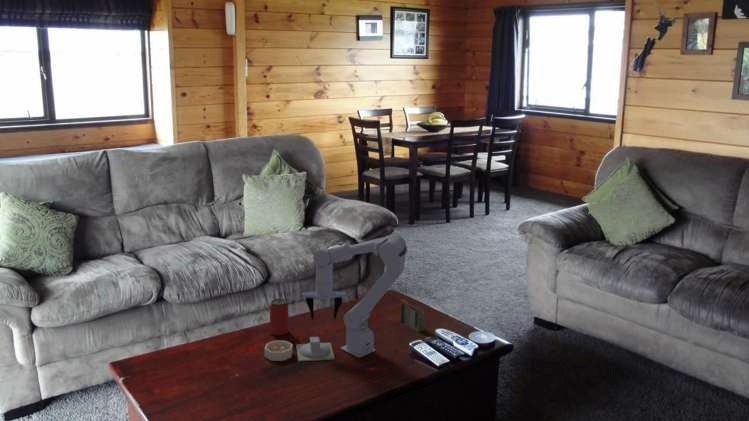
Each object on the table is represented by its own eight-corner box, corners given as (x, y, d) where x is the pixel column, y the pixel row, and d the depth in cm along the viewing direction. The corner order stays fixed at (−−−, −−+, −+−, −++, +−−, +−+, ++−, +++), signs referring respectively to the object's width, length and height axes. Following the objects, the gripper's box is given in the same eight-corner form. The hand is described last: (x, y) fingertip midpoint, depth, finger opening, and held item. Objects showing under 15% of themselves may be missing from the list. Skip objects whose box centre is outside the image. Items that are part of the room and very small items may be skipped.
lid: (327, 343, 236) (327, 332, 235) (331, 356, 227) (331, 344, 226) (299, 345, 235) (299, 334, 233) (301, 358, 225) (301, 346, 224)
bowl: (297, 354, 229) (297, 346, 228) (276, 363, 222) (276, 355, 222) (281, 346, 235) (281, 338, 234) (259, 354, 228) (259, 346, 228)
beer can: (290, 329, 249) (290, 298, 246) (286, 336, 242) (285, 305, 239) (272, 328, 249) (272, 297, 246) (268, 335, 243) (267, 304, 240)
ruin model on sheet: (399, 322, 258) (399, 298, 255) (405, 321, 259) (406, 297, 257) (417, 333, 249) (418, 308, 246) (423, 331, 250) (424, 307, 248)
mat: (330, 343, 238) (330, 342, 237) (334, 359, 226) (334, 358, 226) (296, 345, 235) (296, 344, 235) (298, 361, 224) (298, 360, 224)
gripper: (303, 285, 227) (303, 323, 231) (346, 285, 230) (345, 322, 233) (302, 278, 234) (302, 315, 238) (344, 277, 236) (343, 314, 240)
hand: (323, 318), depth 236 cm, fingers open, 7 cm apart
